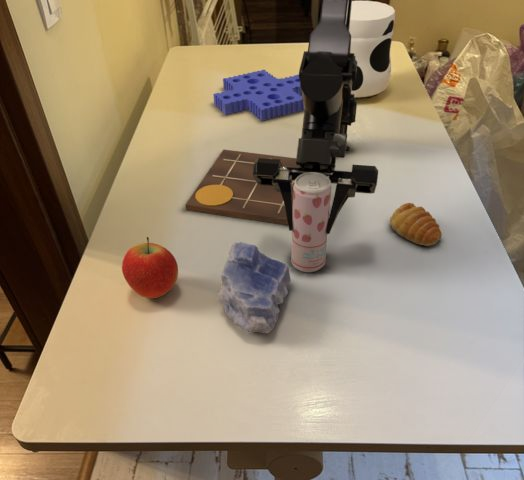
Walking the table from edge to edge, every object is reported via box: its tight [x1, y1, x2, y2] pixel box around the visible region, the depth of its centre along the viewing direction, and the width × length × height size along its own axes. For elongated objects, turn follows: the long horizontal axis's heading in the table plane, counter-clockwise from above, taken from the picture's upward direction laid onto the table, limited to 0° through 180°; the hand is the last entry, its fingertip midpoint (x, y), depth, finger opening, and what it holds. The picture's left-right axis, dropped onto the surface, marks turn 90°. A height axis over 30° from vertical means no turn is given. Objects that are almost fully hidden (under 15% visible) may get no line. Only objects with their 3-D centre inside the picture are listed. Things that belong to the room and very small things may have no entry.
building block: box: [212, 69, 305, 122], centre depth 130 cm, size 25×24×3 cm
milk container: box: [349, 0, 396, 101], centre depth 126 cm, size 17×17×18 cm
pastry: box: [389, 202, 443, 247], centre depth 90 cm, size 9×7×4 cm
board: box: [184, 149, 298, 226], centre depth 102 cm, size 22×22×1 cm
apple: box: [121, 236, 179, 299], centre depth 79 cm, size 8×8×10 cm
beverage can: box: [290, 172, 332, 273], centre depth 81 cm, size 6×6×15 cm
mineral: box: [217, 241, 292, 334], centre depth 77 cm, size 14×10×10 cm
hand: (308, 232), depth 80 cm, fingers closed on beverage can, 5 cm apart
